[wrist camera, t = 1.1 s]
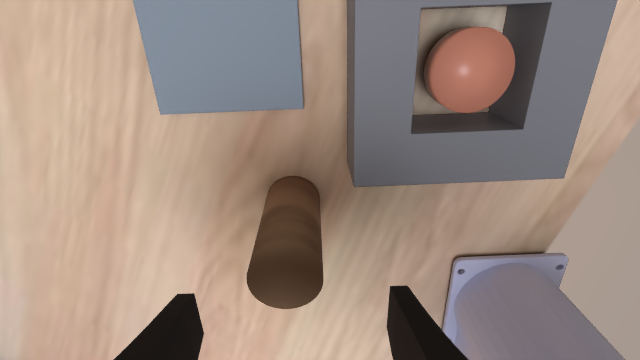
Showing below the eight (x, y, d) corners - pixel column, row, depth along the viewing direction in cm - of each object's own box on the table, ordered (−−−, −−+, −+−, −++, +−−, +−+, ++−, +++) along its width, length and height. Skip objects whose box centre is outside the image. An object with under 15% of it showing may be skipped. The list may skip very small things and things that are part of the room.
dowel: (320, 221, 22) (324, 307, 16) (269, 223, 22) (251, 310, 16) (318, 174, 21) (321, 247, 14) (264, 177, 21) (241, 251, 14)
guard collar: (525, 154, 21) (564, 178, 18) (347, 162, 21) (353, 187, 18) (576, -61, 16) (642, -82, 13) (347, -53, 16) (355, -71, 13)
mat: (303, 106, 19) (303, 108, 19) (163, 112, 19) (160, 114, 19) (294, -63, 16) (293, -65, 15) (123, -57, 16) (118, -58, 15)
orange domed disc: (493, 105, 17) (506, 111, 16) (420, 108, 17) (427, 114, 16) (509, 25, 16) (523, 25, 15) (427, 28, 16) (436, 28, 15)
